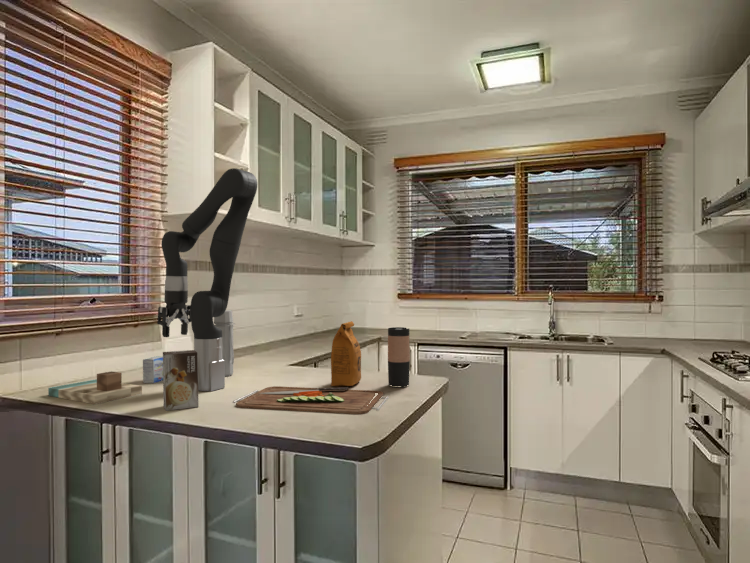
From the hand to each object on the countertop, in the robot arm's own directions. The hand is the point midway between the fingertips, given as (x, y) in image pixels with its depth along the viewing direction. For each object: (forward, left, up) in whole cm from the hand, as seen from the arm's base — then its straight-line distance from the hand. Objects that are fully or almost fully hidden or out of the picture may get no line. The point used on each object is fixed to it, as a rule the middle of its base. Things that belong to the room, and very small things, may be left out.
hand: (175, 335), depth 178 cm
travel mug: (-68, -38, -18) cm, 80 cm away
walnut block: (+5, +21, -15) cm, 27 cm away
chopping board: (-54, -6, -18) cm, 57 cm away
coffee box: (-25, +19, -18) cm, 36 cm away
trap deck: (+12, +21, -18) cm, 30 cm away
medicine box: (+14, -3, -18) cm, 23 cm away
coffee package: (-51, -31, -18) cm, 62 cm away
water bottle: (-1, -23, -18) cm, 29 cm away
